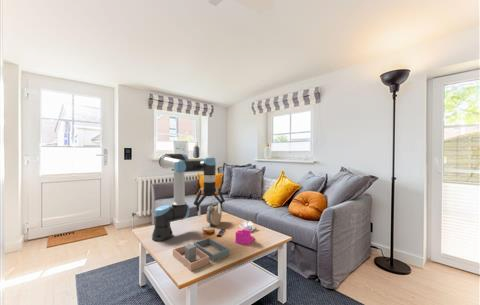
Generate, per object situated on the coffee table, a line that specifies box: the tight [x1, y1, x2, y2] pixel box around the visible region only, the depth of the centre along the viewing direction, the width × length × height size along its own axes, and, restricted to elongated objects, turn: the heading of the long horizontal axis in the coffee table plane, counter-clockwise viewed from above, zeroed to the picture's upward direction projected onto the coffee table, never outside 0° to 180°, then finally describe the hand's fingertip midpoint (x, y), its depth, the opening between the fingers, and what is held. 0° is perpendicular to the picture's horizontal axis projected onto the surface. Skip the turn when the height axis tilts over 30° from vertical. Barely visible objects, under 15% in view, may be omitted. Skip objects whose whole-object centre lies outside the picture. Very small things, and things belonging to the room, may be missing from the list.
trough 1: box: [172, 243, 210, 272], centre depth 130 cm, size 23×12×4 cm, turn 42°
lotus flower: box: [238, 219, 256, 232], centre depth 178 cm, size 14×15×9 cm
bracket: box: [235, 229, 255, 246], centre depth 158 cm, size 12×10×10 cm
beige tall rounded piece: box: [205, 198, 223, 227], centre depth 192 cm, size 17×9×23 cm, turn 164°
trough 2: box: [193, 237, 230, 262], centre depth 140 cm, size 23×12×4 cm, turn 42°
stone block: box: [184, 243, 197, 263], centre depth 130 cm, size 5×5×8 cm
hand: (209, 214), depth 136 cm, fingers open, 13 cm apart
